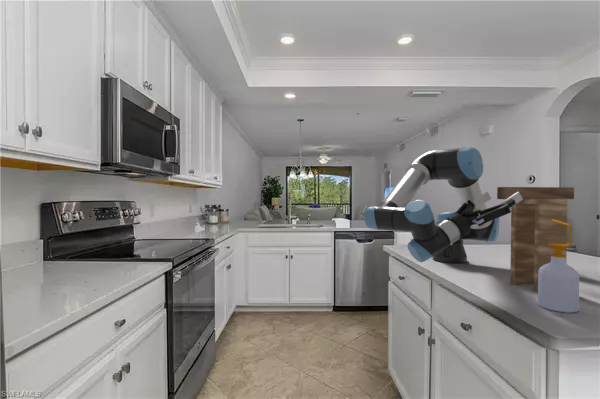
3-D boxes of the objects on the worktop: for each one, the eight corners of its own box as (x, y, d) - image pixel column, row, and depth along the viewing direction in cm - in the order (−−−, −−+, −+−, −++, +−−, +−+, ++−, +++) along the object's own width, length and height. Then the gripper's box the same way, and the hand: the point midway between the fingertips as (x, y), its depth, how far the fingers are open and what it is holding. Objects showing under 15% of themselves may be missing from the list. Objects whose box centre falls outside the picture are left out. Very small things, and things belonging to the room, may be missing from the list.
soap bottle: (539, 300, 102) (540, 218, 101) (578, 307, 96) (580, 219, 96) (536, 308, 95) (537, 220, 94) (578, 315, 89) (580, 221, 89)
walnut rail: (497, 199, 115) (497, 187, 115) (562, 199, 120) (563, 187, 120) (506, 199, 111) (506, 187, 111) (573, 199, 116) (574, 187, 116)
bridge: (510, 283, 121) (511, 198, 121) (534, 282, 123) (535, 198, 122) (539, 293, 109) (540, 199, 109) (565, 291, 111) (567, 199, 111)
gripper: (436, 234, 123) (482, 204, 125) (484, 244, 98) (540, 206, 101) (426, 216, 122) (473, 186, 125) (473, 222, 97) (530, 184, 100)
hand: (503, 195), depth 113 cm, fingers open, 13 cm apart
